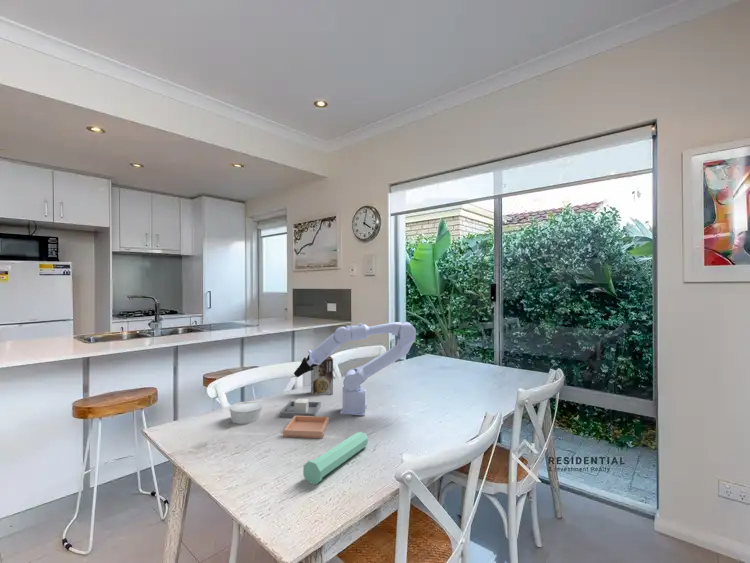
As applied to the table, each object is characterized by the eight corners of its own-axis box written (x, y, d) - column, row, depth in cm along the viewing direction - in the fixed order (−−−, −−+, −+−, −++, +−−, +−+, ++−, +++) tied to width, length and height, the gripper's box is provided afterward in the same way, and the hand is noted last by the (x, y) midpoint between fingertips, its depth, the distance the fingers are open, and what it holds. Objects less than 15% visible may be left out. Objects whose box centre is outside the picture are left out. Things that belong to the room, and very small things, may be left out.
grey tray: (320, 407, 145) (321, 402, 145) (314, 419, 133) (314, 413, 133) (289, 406, 146) (290, 400, 146) (280, 418, 133) (280, 412, 133)
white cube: (308, 409, 141) (308, 399, 141) (305, 413, 137) (305, 402, 137) (297, 408, 142) (297, 398, 142) (294, 413, 137) (294, 402, 137)
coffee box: (330, 390, 168) (330, 355, 168) (333, 394, 162) (333, 358, 161) (310, 392, 165) (310, 356, 165) (312, 396, 159) (313, 359, 159)
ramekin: (253, 412, 139) (253, 398, 139) (267, 420, 131) (268, 406, 131) (224, 420, 131) (224, 405, 131) (237, 429, 123) (237, 414, 123)
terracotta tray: (329, 422, 130) (329, 416, 130) (322, 438, 117) (322, 431, 117) (294, 421, 131) (294, 415, 131) (283, 436, 118) (283, 430, 118)
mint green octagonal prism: (359, 424, 114) (307, 456, 93) (374, 435, 112) (324, 471, 90) (352, 440, 115) (299, 475, 94) (367, 451, 113) (316, 490, 91)
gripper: (321, 340, 148) (295, 362, 148) (314, 344, 134) (286, 368, 134) (332, 353, 148) (307, 375, 148) (326, 359, 134) (298, 383, 133)
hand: (297, 373), depth 141 cm, fingers open, 7 cm apart
